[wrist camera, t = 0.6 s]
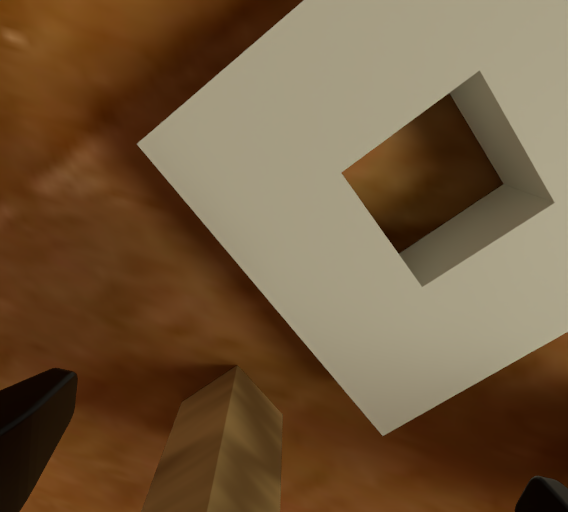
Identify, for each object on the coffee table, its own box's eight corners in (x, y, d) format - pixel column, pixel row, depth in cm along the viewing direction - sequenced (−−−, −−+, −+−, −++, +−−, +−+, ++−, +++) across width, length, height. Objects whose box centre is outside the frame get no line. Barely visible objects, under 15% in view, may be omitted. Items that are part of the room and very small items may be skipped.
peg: (282, 414, 24) (278, 584, 15) (227, 448, 25) (194, 627, 16) (237, 364, 23) (205, 518, 14) (181, 402, 24) (120, 567, 15)
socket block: (660, 206, 20) (747, 230, 16) (367, 382, 23) (382, 435, 19) (491, -139, 16) (555, -217, 12) (167, 136, 19) (136, 144, 15)
